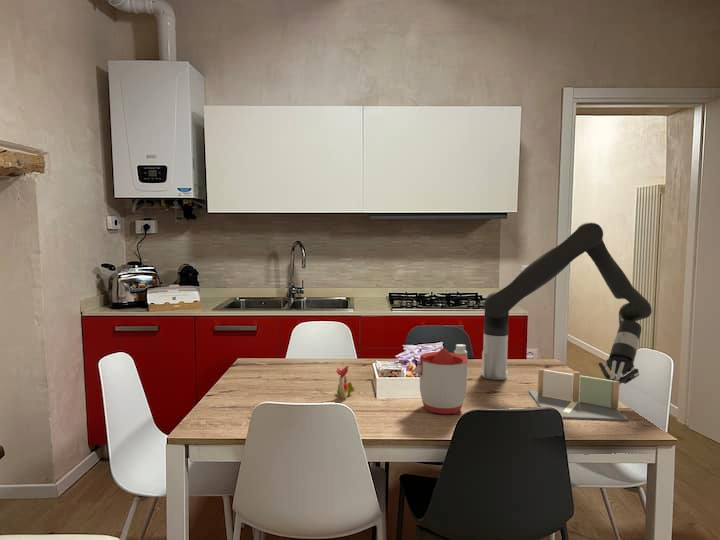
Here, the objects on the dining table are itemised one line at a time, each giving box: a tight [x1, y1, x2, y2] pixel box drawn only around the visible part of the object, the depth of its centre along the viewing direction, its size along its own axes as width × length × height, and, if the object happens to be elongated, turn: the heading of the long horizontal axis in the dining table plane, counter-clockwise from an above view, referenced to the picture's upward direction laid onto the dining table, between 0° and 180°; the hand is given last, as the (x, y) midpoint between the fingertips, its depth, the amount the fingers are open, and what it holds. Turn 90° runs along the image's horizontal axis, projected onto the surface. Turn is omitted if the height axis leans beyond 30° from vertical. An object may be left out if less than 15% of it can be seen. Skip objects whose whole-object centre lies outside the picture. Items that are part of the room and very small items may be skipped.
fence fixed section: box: [537, 368, 581, 402], centre depth 178 cm, size 14×2×10 cm, turn 55°
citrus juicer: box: [413, 347, 469, 415], centre depth 168 cm, size 16×17×20 cm
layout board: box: [528, 390, 630, 422], centre depth 173 cm, size 24×25×1 cm
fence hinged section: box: [579, 375, 620, 410], centre depth 171 cm, size 12×2×9 cm, turn 55°
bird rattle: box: [336, 365, 355, 401], centre depth 179 cm, size 6×11×9 cm
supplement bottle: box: [453, 343, 468, 358], centre depth 217 cm, size 5×5×10 cm
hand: (612, 391), depth 171 cm, fingers closed
